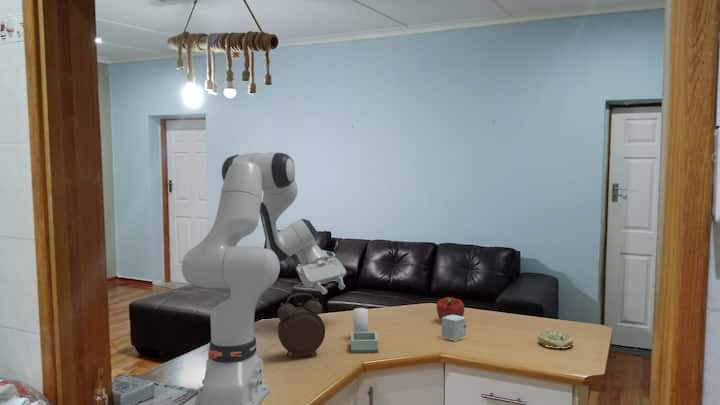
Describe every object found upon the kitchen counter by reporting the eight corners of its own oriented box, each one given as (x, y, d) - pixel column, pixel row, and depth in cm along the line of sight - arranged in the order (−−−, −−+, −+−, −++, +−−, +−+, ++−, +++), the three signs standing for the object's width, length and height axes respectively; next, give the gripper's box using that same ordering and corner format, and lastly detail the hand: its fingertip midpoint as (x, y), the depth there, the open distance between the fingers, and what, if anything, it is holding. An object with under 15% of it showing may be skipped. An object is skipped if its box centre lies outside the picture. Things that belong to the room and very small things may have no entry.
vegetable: (463, 327, 192) (463, 300, 192) (435, 325, 195) (435, 299, 194) (464, 319, 203) (464, 293, 202) (437, 317, 205) (437, 292, 205)
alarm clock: (319, 348, 172) (318, 288, 170) (326, 356, 165) (325, 293, 163) (275, 355, 166) (274, 293, 165) (280, 363, 160) (279, 298, 158)
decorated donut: (565, 353, 166) (565, 341, 165) (532, 345, 173) (532, 334, 173) (577, 344, 173) (577, 333, 173) (545, 337, 180) (545, 327, 180)
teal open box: (377, 352, 167) (377, 340, 167) (351, 353, 167) (350, 340, 167) (376, 343, 176) (376, 331, 176) (351, 343, 176) (351, 332, 176)
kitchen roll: (368, 340, 179) (368, 311, 178) (353, 340, 179) (353, 312, 178) (368, 335, 184) (367, 307, 183) (353, 336, 184) (353, 308, 183)
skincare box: (455, 342, 177) (455, 320, 176) (441, 338, 181) (441, 317, 181) (466, 338, 181) (466, 317, 180) (452, 334, 185) (452, 313, 185)
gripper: (298, 259, 184) (319, 291, 178) (336, 251, 200) (356, 280, 194) (289, 270, 187) (309, 302, 181) (328, 262, 203) (347, 290, 197)
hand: (334, 290), depth 188 cm, fingers open, 8 cm apart
